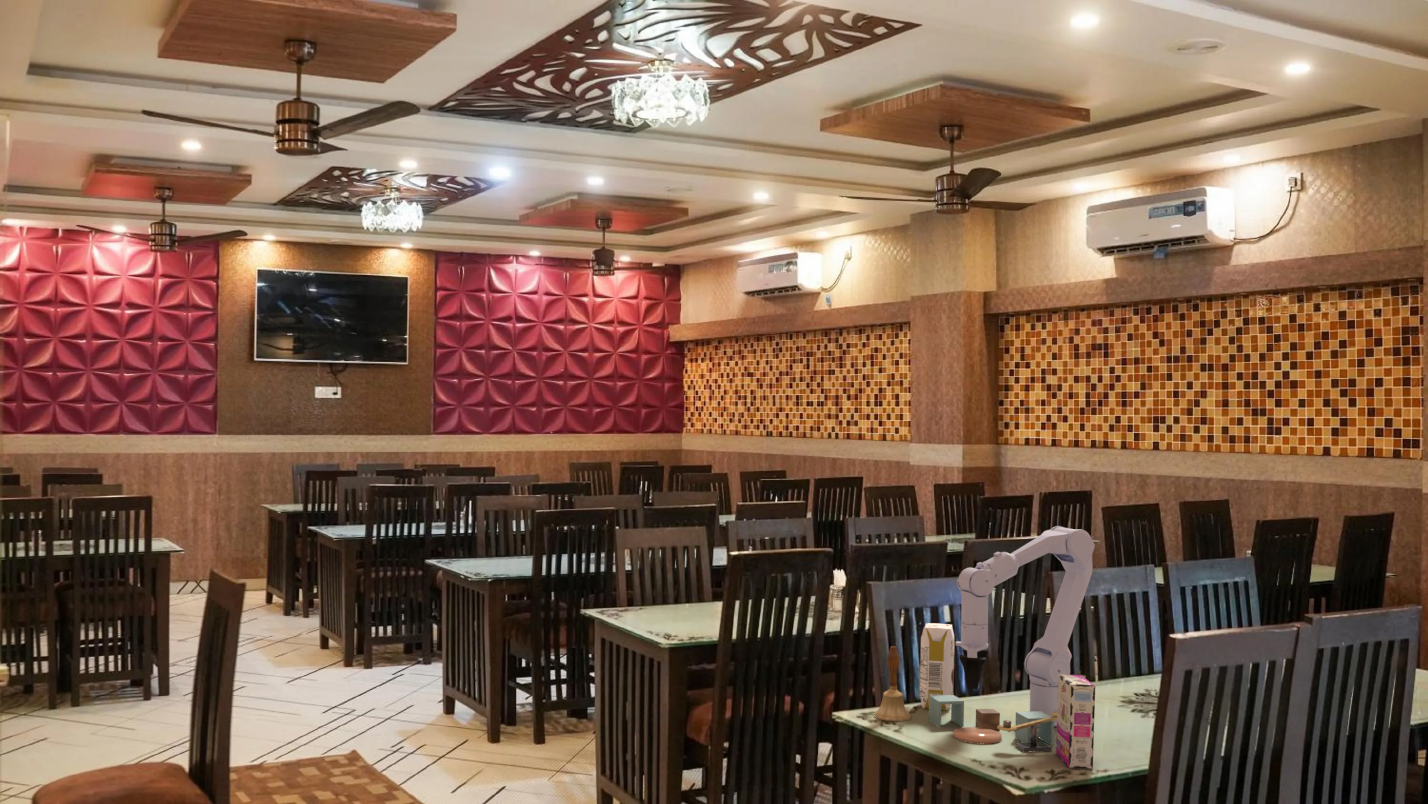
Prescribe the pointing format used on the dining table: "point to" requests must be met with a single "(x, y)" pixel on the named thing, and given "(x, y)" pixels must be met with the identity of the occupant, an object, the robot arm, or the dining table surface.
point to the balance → (1033, 733)
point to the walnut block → (987, 719)
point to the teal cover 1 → (956, 708)
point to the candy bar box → (1075, 721)
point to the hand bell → (892, 694)
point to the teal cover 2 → (1044, 729)
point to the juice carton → (936, 662)
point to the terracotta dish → (977, 735)
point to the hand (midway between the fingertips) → (973, 684)
